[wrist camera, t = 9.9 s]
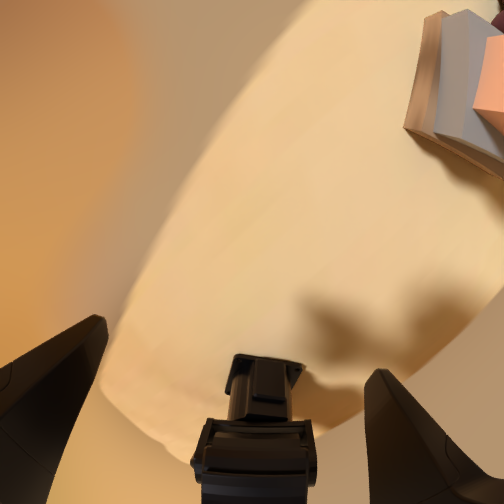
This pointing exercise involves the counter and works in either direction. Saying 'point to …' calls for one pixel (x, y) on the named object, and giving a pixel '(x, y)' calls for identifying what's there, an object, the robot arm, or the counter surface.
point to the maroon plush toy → (499, 21)
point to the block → (492, 84)
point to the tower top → (465, 84)
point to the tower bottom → (426, 99)
